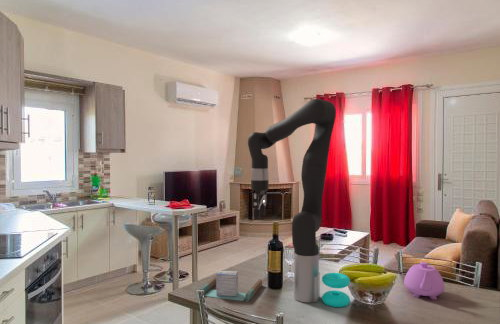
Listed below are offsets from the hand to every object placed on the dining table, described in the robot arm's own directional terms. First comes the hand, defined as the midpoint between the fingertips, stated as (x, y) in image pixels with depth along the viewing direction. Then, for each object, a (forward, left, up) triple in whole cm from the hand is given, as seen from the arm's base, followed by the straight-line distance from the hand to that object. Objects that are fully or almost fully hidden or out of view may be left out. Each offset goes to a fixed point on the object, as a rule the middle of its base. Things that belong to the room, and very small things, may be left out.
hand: (259, 216), depth 156 cm
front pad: (+8, +18, -28) cm, 35 cm away
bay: (+8, +13, -28) cm, 32 cm away
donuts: (-33, +13, -28) cm, 45 cm away
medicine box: (+8, +18, -28) cm, 34 cm away
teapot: (-65, -5, -28) cm, 71 cm away
